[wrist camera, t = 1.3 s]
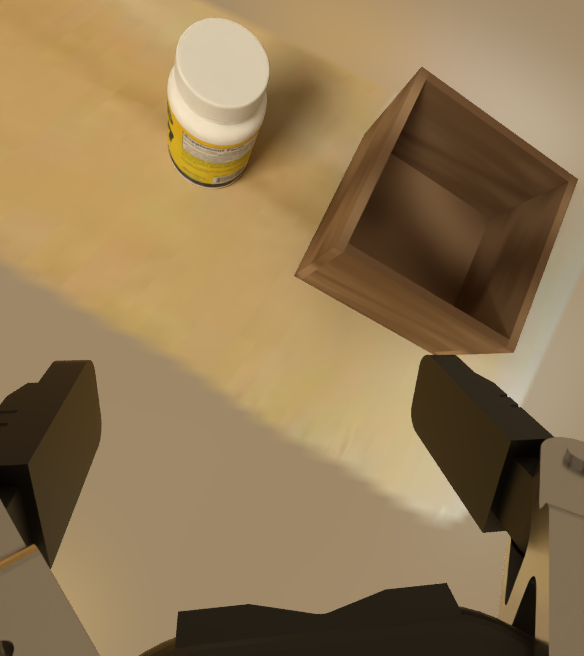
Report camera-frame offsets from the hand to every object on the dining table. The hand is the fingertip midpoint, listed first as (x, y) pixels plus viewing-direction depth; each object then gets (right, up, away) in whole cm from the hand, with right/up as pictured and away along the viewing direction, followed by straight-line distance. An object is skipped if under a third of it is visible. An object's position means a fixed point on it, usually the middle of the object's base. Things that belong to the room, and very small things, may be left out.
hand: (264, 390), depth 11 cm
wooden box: (+8, +7, +19) cm, 22 cm away
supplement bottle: (-4, +12, +16) cm, 20 cm away
